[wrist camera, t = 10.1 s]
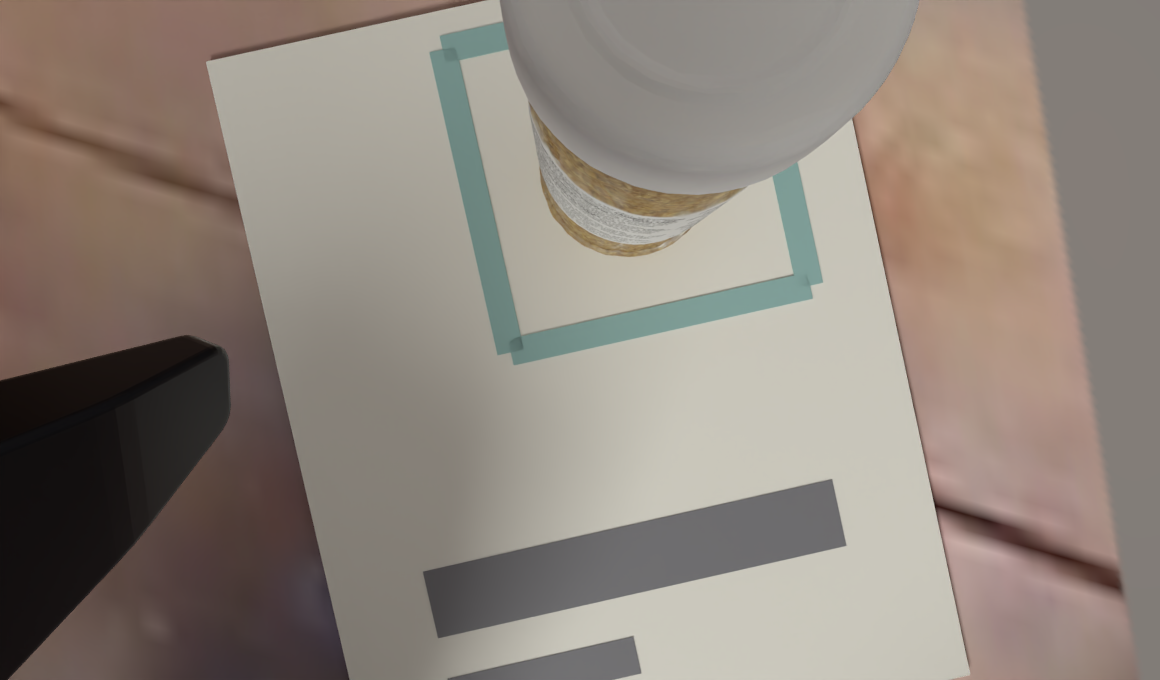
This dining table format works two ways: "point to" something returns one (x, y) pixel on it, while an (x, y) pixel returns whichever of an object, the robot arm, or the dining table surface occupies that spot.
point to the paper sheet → (575, 391)
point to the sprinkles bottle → (687, 101)
